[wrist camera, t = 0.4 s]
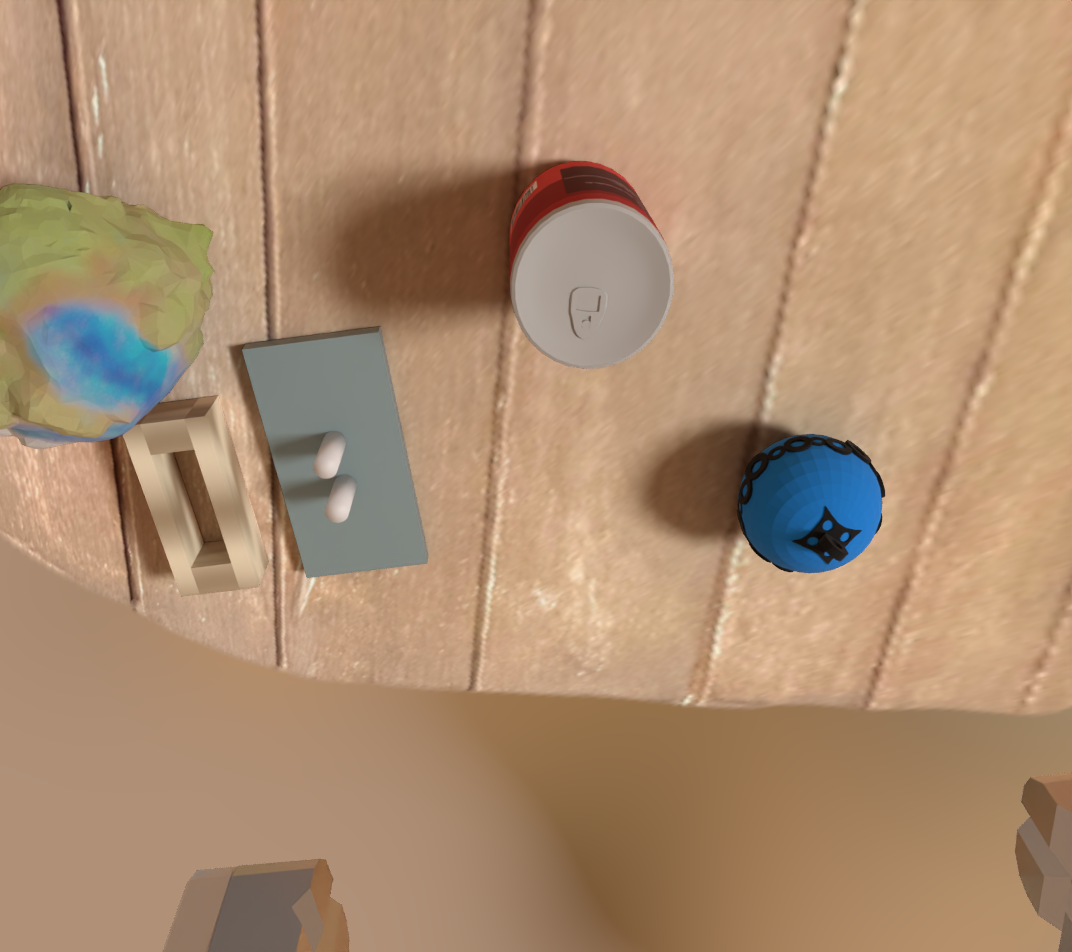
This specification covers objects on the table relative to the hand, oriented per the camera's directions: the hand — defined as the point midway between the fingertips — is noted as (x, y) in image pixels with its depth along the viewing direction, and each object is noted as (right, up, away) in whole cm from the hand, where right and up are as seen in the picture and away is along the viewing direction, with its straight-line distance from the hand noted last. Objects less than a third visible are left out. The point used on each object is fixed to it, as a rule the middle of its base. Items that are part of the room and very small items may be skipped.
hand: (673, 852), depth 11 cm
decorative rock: (-26, +17, +43) cm, 53 cm away
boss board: (-14, +6, +49) cm, 51 cm away
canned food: (+1, +18, +43) cm, 46 cm away
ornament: (+15, +5, +50) cm, 53 cm away
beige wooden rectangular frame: (-22, +4, +50) cm, 55 cm away
